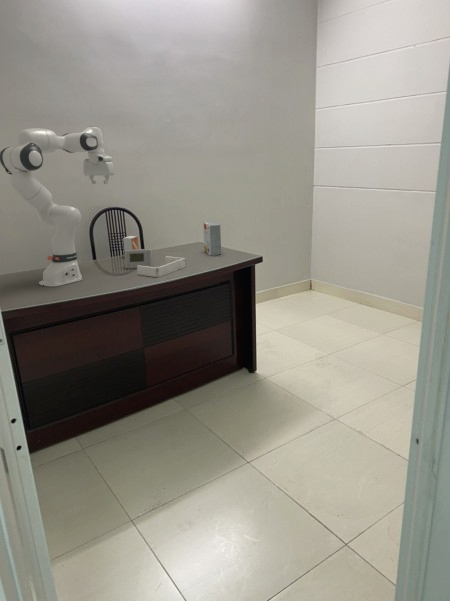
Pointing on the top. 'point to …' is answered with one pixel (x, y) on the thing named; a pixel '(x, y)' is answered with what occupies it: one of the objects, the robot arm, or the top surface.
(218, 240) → the hard drive box
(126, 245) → the small box
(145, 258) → the digital clock
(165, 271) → the bin
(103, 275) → the top surface
